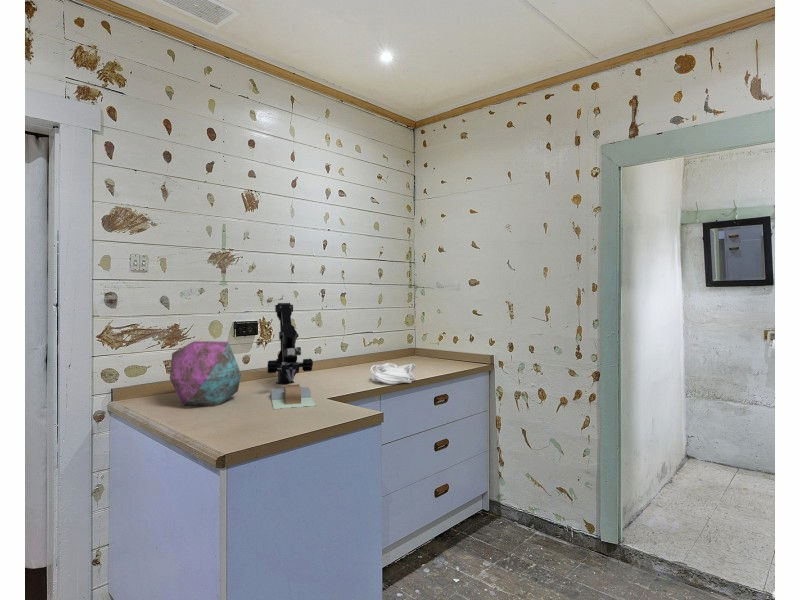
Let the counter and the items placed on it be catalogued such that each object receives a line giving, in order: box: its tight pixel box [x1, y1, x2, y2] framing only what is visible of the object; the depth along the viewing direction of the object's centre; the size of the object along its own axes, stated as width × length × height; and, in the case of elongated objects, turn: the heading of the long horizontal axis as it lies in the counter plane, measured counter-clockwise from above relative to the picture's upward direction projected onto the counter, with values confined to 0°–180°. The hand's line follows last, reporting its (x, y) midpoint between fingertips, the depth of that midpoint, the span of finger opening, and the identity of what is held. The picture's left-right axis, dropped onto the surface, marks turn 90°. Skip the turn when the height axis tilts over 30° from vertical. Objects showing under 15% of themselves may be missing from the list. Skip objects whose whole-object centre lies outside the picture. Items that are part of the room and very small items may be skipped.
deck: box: [270, 386, 312, 401], centre depth 204 cm, size 9×16×3 cm, turn 108°
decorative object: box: [169, 340, 242, 407], centre depth 194 cm, size 30×30×30 cm
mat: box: [271, 396, 316, 410], centre depth 193 cm, size 14×16×1 cm
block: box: [283, 383, 302, 405], centre depth 195 cm, size 6×6×9 cm
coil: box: [369, 362, 417, 385], centre depth 239 cm, size 25×24×9 cm
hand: (291, 382), depth 200 cm, fingers closed
